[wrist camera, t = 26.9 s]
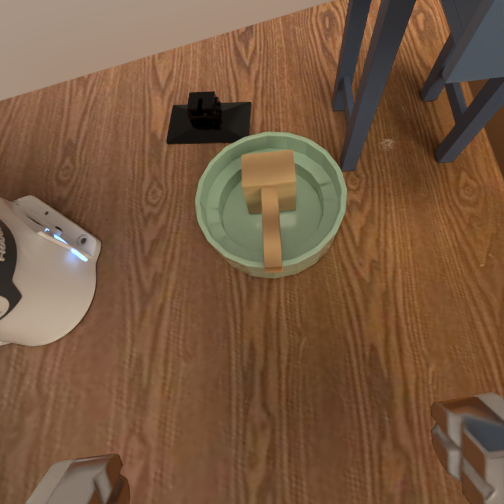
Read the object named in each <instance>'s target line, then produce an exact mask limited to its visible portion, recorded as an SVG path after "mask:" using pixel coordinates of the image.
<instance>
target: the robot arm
mask: <svg viewBox="0 0 504 504" xmlns="http://www.w3.org/2000/svg"><path fill="white" fill-rule="evenodd" d="M85 240H86V242H85V243H84V241H85ZM100 250H101V242H100V240H99V239H98V238H96V237H95V236H93V235H92V234H90V233H89V232H87V231H86V230H84V229H83V228H82V227H80V226H79V225H77V224H76V223H74V222H73V221H71V220H70V219H68V218H67V217H65V216H64V215H62V214H61V213H59V212H58V211H56V210H55V209H54V208H52V207H51V206H49V205H48V204H46V203H45V202H43V201H42V200H40V199H39V198H36V197H34V196H32V195H29V196H25V197H22V198H19V199H17V200H15V201H13V202H10V201H8V200H6V199H4V198H1V197H0V346H1V345H5V344H9V343H16V344H21V345H26V346H41V345H45V344H49V343H51V342H54V341H56V340H58V339H60V338H61V337H63V336H65V335H66V334H67V333H69V332H70V331H71V330H72V329H73V328H74V327H75V326H76V325H77V324H78V323H79V322H80V321H81V319H82V318H83V316H84V315H85V313H86V312H87V310H88V308H89V306H90V304H91V302H92V299H93V296H94V292H95V287H96V262H97V259H98V256H99V253H100ZM431 416H432V418H433V419H434V420H435V421H436V422H437V423H436V424H435V426H434V427H433V428H432V430H431V435H432V443H433V446H434V449H435V452H436V455H437V457H438V459H439V460H440V462H441V464H442V466H443V467H444V468H445V470H446V471H447V473H448V474H449V475H451V476H453V477H454V478H456V479H457V480H459V481H461V482H462V493H463V495H464V496H465V497H466V499H467V500H468V502H469V503H470V504H504V399H503V398H502V397H501V396H499V395H497V394H495V393H492V392H491V393H485V394H480V395H474V396H471V397H470V396H469V397H463V398H457V399H451V400H445V401H439V402H433V404H432V406H431ZM122 466H123V464H122V461H121V459H120V456H119V454H108V455H100V456H93V457H85V458H77V459H74V460H66V461H58V462H56V463H55V464H53V465H52V466H51V467H50V468H49V470H48V471H47V473H46V474H45V475H44V477H43V478H42V480H41V481H40V483H39V484H38V486H37V487H36V489H35V490H34V492H33V493H32V495H31V496H30V498H29V499H28V500H27V502H26V503H25V504H129V502H130V488H129V484H128V480H127V479H126V478H125V477H124V476H122V475H121V474H120V471H121V468H122Z"/></svg>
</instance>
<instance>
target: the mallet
mask: <svg viewBox="0 0 504 504" xmlns="http://www.w3.org/2000/svg"><path fill="white" fill-rule="evenodd" d="M241 161H242V189H243V193H244V197H245V200H246V204H247V208H248V211H249V214H254V213H262V225H263V251H264V268H265V272H266V273H275V272H283V266H282V250H281V235H280V220H279V211H289V210H296V175H295V164H294V154H293V149H291V150H282V151H273V152H263V153H254V154H245V155H241Z"/></svg>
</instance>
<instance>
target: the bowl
mask: <svg viewBox="0 0 504 504" xmlns="http://www.w3.org/2000/svg"><path fill="white" fill-rule="evenodd" d="M291 149H293V154H294V164H295V175H296V210H289V211H279V220H280V235H281V250H282V266H283V272H275V273H266V272H265V268H264V251H263V225H262V213H254V214H249V211H248V208H247V204H246V200H245V197H244V193H243V189H242V161H241V155H245V154H254V153H263V152H273V151H282V150H291ZM346 198H347V187H346V184H345V181H344V178H343V175H342V172H341V169H340V167H339V166H338V165H337V163H336V162H335V161H334V159H333V158H332V157H331V155H330V154H329V153H328V152H327V151H326V150H325V149H323V148H322V147H320V146H319V145H318V144H316V143H315V142H313V141H312V140H310V139H308V138H305V137H301V136H298V135H295V134H292V133H288V132H263V133H259V134H255V135H250V136H246V137H243V138H242V139H240V140H238V141H236V142H234V143H232V144H230V145H228V146H227V147H225V148H224V149H223V150H222V151H221V152H220V153H219V154H218V155H216V156H215V157H214V158H213V159H212V160H211V161H210V162H209V164H208V166H207V168H206V169H205V171H204V173H203V175H202V176H201V178H200V180H199V183H198V188H197V193H196V197H195V206H196V214H197V221H198V224H199V225H200V227H201V229H202V231H203V233H204V235H205V237H206V239H207V241H208V242H209V243H210V245H211V246H212V247H213V248H214V250H215V251H216V252H217V253H218V254H219V255H220V256H221V257H222V258H223V259H224V260H225V261H226V262H227V263H228V264H229V265H230V266H232V267H233V268H235V269H237V270H240V271H242V272H244V273H246V274H248V275H251V276H256V277H265V278H279V277H284V276H289V275H294V274H297V273H299V272H301V271H303V270H305V269H306V268H308V267H310V266H312V265H313V264H315V263H317V261H318V260H319V259H320V258H321V257H322V256H323V255H324V254H325V253H326V252H327V251H328V249H329V248H330V247H331V245H332V243H333V241H334V238H335V236H336V234H337V231H338V229H339V227H340V224H341V222H342V219H343V217H344V214H345V212H346Z"/></svg>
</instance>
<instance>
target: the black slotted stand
mask: <svg viewBox="0 0 504 504" xmlns="http://www.w3.org/2000/svg"><path fill="white" fill-rule="evenodd" d="M250 115H251V102H237V103H221V102H219V98H218V97H216V95H215V92H194V93H189V99H188V105H174V106H173V109H172V114H171V119H170V125H169V130H168V136H167V141H166V142H167V144H200V143H234V142H236V141H238V140H240V139H242V138H243V137H246V136H249V126H250Z"/></svg>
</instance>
